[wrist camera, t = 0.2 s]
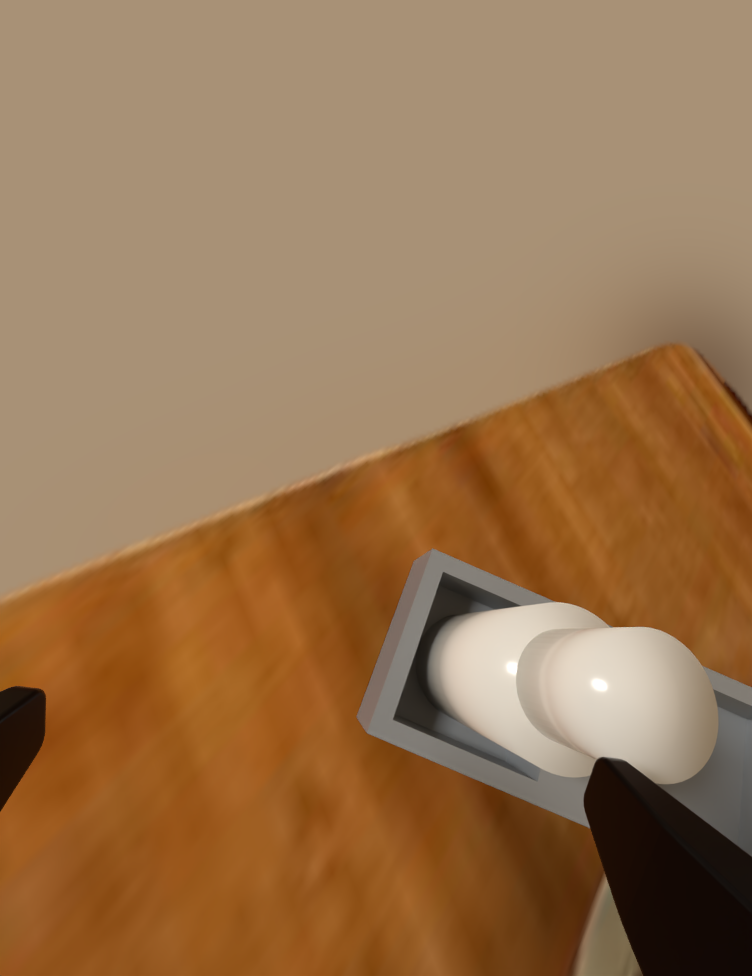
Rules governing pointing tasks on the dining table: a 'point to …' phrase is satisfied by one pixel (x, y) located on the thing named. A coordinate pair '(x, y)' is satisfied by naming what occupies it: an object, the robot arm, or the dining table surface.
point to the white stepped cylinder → (572, 689)
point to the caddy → (435, 736)
